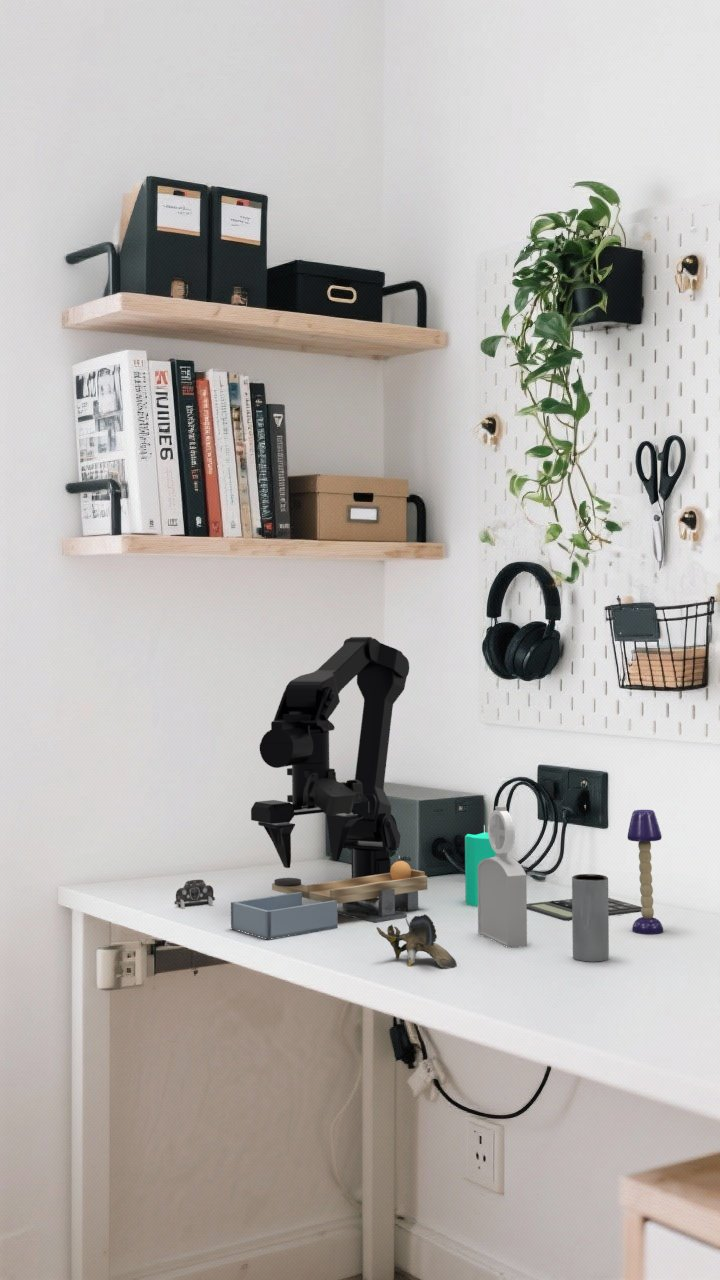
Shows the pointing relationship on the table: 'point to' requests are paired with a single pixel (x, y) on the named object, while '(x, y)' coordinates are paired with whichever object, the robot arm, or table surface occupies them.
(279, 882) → the lever
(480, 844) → the candle
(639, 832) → the toy lamp
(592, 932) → the planter
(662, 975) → the table surface
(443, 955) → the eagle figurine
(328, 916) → the tray
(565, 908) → the calculator
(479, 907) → the gravestone
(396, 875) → the ball
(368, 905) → the stand
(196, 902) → the car cutout
